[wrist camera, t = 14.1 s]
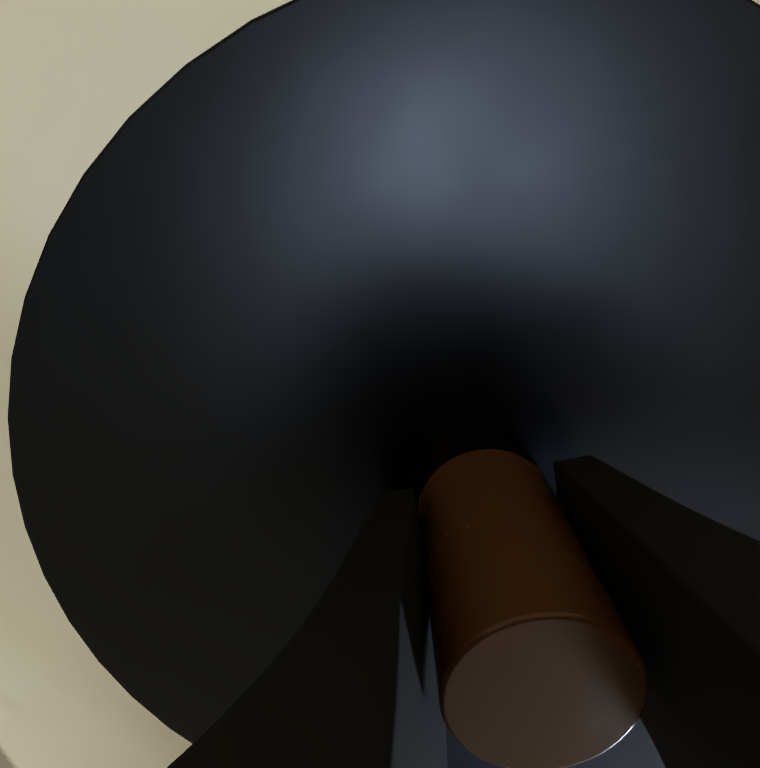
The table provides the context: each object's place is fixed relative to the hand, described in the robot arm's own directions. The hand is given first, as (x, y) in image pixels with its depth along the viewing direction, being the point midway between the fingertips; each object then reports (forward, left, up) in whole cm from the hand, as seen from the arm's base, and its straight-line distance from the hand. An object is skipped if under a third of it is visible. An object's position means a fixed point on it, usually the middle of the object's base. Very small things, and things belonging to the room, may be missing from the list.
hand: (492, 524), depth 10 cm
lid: (0, 0, -1) cm, 1 cm away
